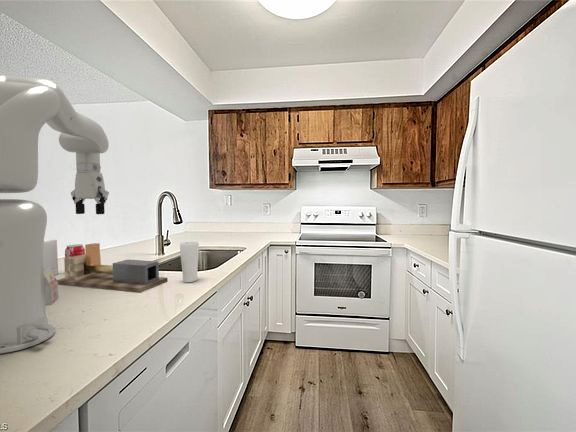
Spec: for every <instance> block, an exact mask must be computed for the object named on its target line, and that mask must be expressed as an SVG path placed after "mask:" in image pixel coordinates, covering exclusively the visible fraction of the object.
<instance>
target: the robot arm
mask: <svg viewBox="0 0 576 432" xmlns="http://www.w3.org/2000/svg"><path fill="white" fill-rule="evenodd" d="M45 124H47V125H48V126H49V127H50V128H51V130H54V131H56V132H58V133H60V134H59V135H58V136H59V137H58V143H59V145H60V147H61V148H62V149H63V150H65V151H66V152H69V153H75V163H76V166H75V167H76V170H75V171H76V172H75V173H76V174H75V177H74V189H73V190H71V192H70V195H71V199H72V201H73V203H74V204H75V214H76V215H83V214H85V213H86V212H85V209H86V208H85V203H84V202H85V201H86V199H88V200H89V199H90V200H91V199H93V200H94V201H95V214H96V215H105V204H106V201H107V200H108V197H109V195H110V191H108V190H106V185H105V181H104V176H103V173H102V172H101V168H102V167H101V154H105V153H106V152H108V150H109V146H110V145H109V144H110V143H109V139H108V136H107V134H106V132H105V130H104V129H103V127H102V126H101V125H100V124H99V123H98V122H96V121H95V120H93V119H91V118H89V117H88V116H85V115H84V114H82V113H79V112H78V111H76V109H75V108H74V107H73V105H72V104H71V102H70V101H69V98H67V96H66V94H65V93H64V92H63V89H61V86H59V85H58V84H57V83H55V82H53V81H51V80H49V79H46V78H45V79H44V78H39V77H30V76H20V75H11V74H10V75H7V74H1V75H0V194H23V193H28V192H30V191H33V190H34V189H35V188H36V186H37V184H38V180H39V179H38V178H39V134H40V131H41V129H42V128H43V127H44V125H45ZM47 221H48V215H47V212H46V210H45V208H44V207H43V206H42V205H41V204H40V203H37V202H35V201H33V200H28V199H19V198H18V199H16V198H15V199H13V198H12V199H11V198H10V199H9V198H6V199H5V198H1V199H0V354H6V353H11V352H17V351H20V350H24V349H27V348H30V347H34V346H36V345H39V344H41V343H44V342H45V341H47V340H49V339H51V338H52V337H53V336H54V334H55V333H56V327H55V325H53V324H51V323H49V318H48V317H47V310H46V309H47V308H46V307H47V305H45V284H44V263H43V245H44V239H45V235H46V230H47V225H48V224H47V223H48V222H47Z"/></svg>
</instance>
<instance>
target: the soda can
mask: <svg viewBox="0 0 576 432" xmlns="http://www.w3.org/2000/svg"><path fill="white" fill-rule="evenodd" d="M84 254H86V253H85V246H84V244H82V243H81V244H80V243H79V244H69V245H68V244H67V245H66V248H65V249H64V258H68V257H74V256H79V255H84Z"/></svg>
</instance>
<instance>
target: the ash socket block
mask: <svg viewBox="0 0 576 432" xmlns="http://www.w3.org/2000/svg"><path fill="white" fill-rule="evenodd" d="M63 262H64V264H63V265H64V278H65V279H68V280H80V279H84V278H88V277H91V276H95V275H98V274H101V273H92V272H84V263H85V264H86V253H85V254H84V255H79V256H74V257H68V258H65V257H64V261H63ZM98 265H102V262H101V258H100V264H98Z"/></svg>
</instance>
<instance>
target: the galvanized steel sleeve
mask: <svg viewBox="0 0 576 432" xmlns="http://www.w3.org/2000/svg"><path fill="white" fill-rule="evenodd" d="M159 263H160V262H159V261H158V260H157V261H156V260H140V259H124V260H121V261H117V262H113V263H112V266H113V282H116V283H127V284H138V285H147V284H150V283H152V282H155V281H157V280H159V277H160V273H159V272H160V269H159V267H160V265H159Z"/></svg>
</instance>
